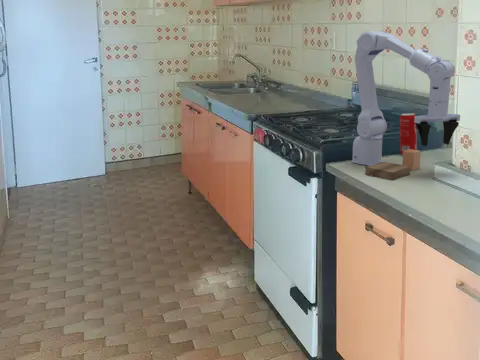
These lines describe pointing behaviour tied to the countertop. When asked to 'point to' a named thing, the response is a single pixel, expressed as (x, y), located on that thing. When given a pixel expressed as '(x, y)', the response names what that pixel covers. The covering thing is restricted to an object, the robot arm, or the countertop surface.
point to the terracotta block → (411, 158)
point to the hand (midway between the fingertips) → (435, 144)
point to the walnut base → (388, 170)
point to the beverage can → (408, 132)
